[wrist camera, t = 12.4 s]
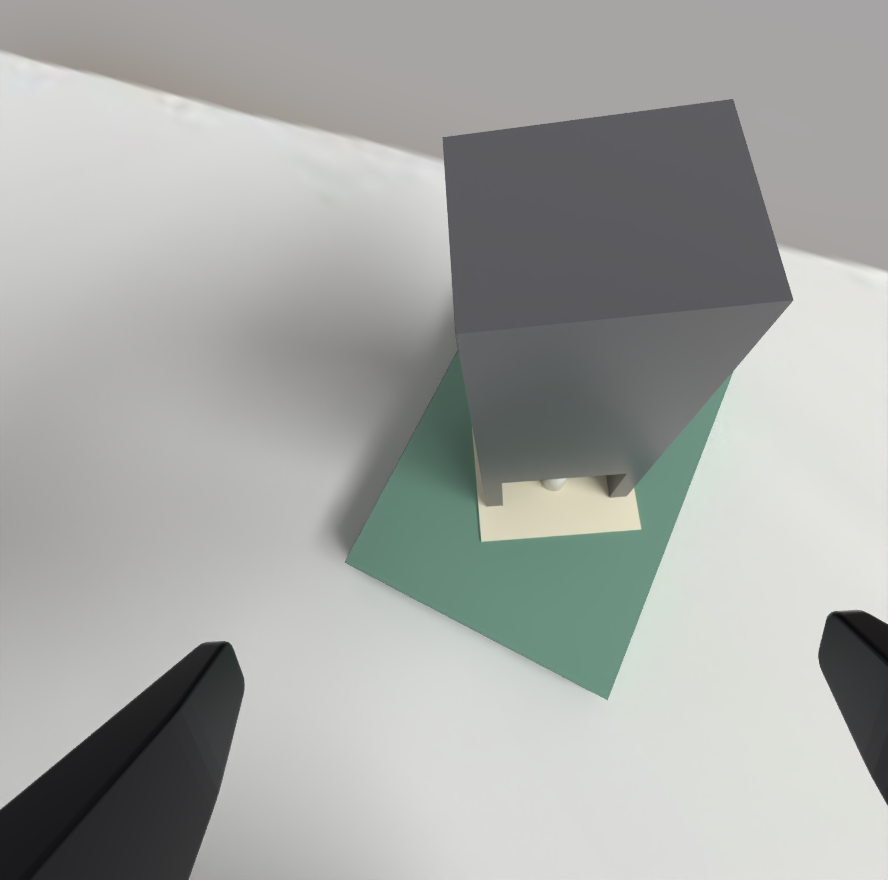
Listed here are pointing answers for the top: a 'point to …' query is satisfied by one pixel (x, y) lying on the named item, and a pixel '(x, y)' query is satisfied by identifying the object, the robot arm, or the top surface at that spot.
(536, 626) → the board
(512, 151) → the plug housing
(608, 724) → the top surface
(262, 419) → the top surface
